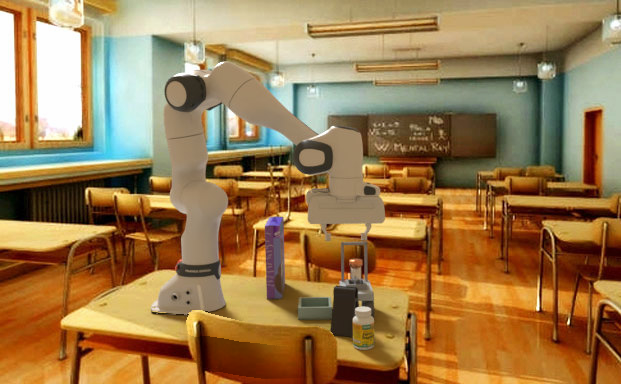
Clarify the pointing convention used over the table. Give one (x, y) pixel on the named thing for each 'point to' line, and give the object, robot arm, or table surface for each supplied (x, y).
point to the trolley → (365, 287)
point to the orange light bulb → (355, 270)
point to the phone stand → (344, 310)
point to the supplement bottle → (363, 329)
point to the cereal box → (275, 257)
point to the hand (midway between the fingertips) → (346, 240)
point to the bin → (314, 308)
